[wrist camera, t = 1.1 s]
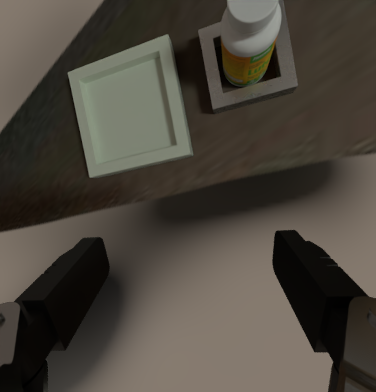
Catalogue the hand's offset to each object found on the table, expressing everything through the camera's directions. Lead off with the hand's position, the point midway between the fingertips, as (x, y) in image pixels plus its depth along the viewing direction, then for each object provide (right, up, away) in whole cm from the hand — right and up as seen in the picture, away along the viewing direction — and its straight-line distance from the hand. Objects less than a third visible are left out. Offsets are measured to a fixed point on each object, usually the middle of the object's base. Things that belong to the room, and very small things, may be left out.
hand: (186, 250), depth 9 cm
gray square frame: (+7, +19, +16) cm, 25 cm away
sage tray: (-8, +14, +19) cm, 25 cm away
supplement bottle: (+7, +19, +16) cm, 26 cm away
